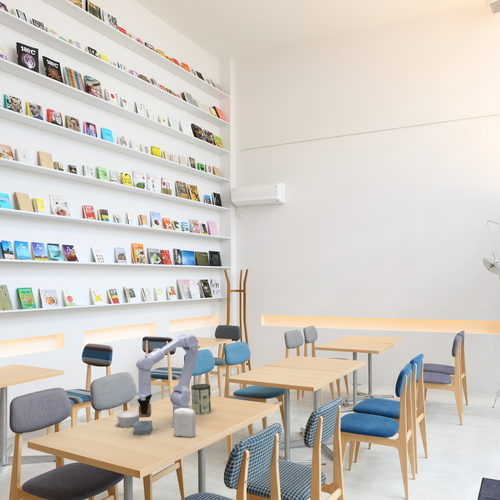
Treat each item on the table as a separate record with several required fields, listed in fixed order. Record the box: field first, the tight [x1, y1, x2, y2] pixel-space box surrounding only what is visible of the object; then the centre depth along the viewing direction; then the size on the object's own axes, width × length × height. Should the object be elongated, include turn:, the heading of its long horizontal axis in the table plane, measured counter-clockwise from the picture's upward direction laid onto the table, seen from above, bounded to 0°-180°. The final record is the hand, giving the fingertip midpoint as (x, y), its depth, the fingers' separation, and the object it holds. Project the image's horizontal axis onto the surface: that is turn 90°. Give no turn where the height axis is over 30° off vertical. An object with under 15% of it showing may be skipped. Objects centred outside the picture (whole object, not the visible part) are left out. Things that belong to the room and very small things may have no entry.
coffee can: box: [190, 383, 212, 416], centre depth 257 cm, size 10×10×14 cm
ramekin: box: [116, 410, 140, 428], centre depth 238 cm, size 11×11×5 cm
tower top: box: [133, 420, 153, 431], centre depth 225 cm, size 7×7×2 cm
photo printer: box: [173, 408, 196, 438], centre depth 218 cm, size 10×4×12 cm, turn 72°
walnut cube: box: [138, 403, 152, 419], centre depth 224 cm, size 5×5×5 cm
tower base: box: [132, 424, 154, 436], centre depth 225 cm, size 8×8×2 cm
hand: (145, 412), depth 224 cm, fingers closed on walnut cube, 5 cm apart
